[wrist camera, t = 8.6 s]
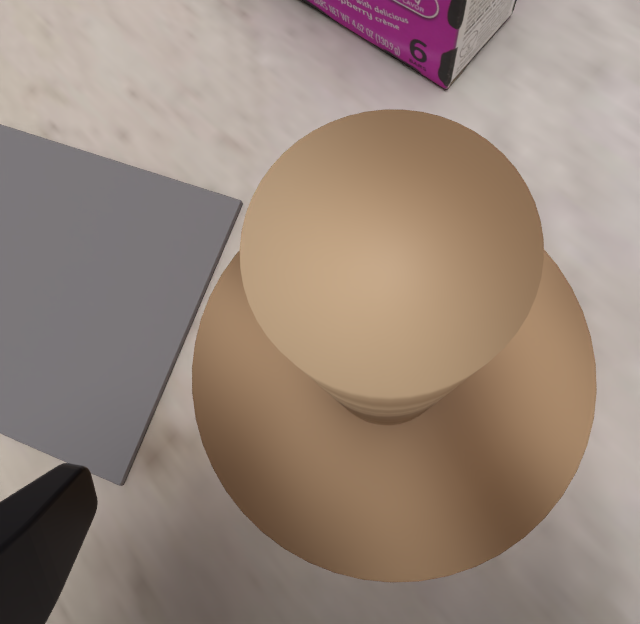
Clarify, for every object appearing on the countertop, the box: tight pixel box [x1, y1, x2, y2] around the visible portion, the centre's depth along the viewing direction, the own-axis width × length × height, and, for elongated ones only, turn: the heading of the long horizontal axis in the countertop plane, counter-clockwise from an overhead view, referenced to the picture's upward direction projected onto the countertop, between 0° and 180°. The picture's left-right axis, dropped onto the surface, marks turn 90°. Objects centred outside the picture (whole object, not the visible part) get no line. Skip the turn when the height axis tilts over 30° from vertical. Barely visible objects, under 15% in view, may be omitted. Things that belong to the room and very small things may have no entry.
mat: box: [0, 124, 243, 486], centre depth 23 cm, size 12×12×1 cm
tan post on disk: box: [192, 110, 596, 582], centre depth 11 cm, size 11×11×11 cm
